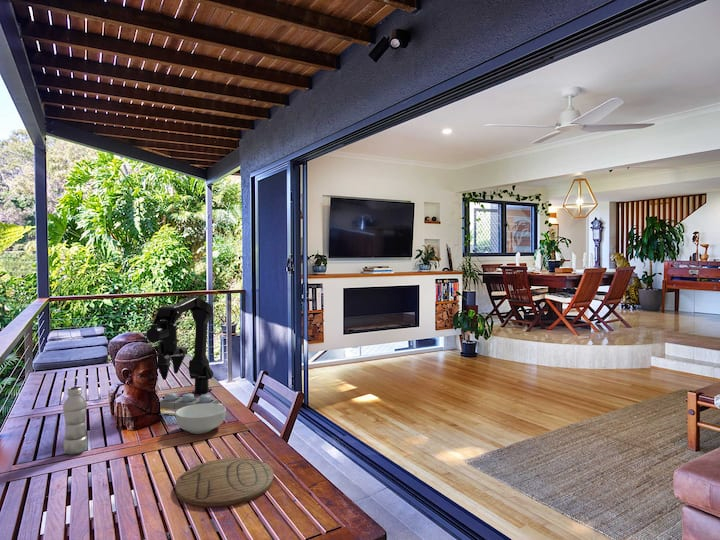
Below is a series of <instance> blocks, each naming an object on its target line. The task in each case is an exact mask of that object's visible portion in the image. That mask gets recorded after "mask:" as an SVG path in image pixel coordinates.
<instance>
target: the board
mask: <svg viewBox="0 0 720 540" xmlns="http://www.w3.org/2000/svg"><path fill="white" fill-rule="evenodd" d="M158 401H159V402H160V408H161V409H160V411H161V414H160V415H164V414H169V415H168V416H175V413H176V411H177V410H178V409H180V408H183V407H186V406H190V405H195V404H201V403H199V397H194V401H193V402H191V403H184V402H182V396H177V400H176V401H174V402H167V401H165V397H164V398H162V399H161V400H158ZM210 403H214V404H220V405H223V406H224V403H219V399H218V398H211V402H210Z"/></svg>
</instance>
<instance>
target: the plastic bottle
mask: <svg viewBox="0 0 720 540" xmlns="http://www.w3.org/2000/svg"><path fill="white" fill-rule="evenodd" d="M82 393H83V392H82V386H72V387H68V389H67V396H68V397H67V398H66V399H65V401H64V403H63V405H62V411H63V417H64V424H65V428H64V429H65V430H64V440H63V445H62V448H63V451H64V453H65V454H66V455H78V454H81V453H83V452H85V451H86V449H87V448H88V444H89V442H88V438H87V437H88V436H87V433H86V432H87V431H86V413H87V407H88V404H87V400H86V398H85V397H83V395H82Z"/></svg>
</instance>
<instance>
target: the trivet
mask: <svg viewBox="0 0 720 540" xmlns="http://www.w3.org/2000/svg"><path fill="white" fill-rule="evenodd" d="M274 477H275V476H274V470H273V468H272V466H271V465H269V464H268V463H266V462H264V461H263V460H259V459H255V458H249V457H229V458H226V457H225V458H219V459H214V460H209V461H206V462H204V463H201V464H197V465H196V466H194V467H192V468H191V467H190V469H188V470H187V471H185V472H184V473H182V474H181V475H179V477H178V478H177V480H176V483H175V486H174V487H175V488H174V490H175V496H176V498H177V499H178V501H180V502H182V504H185V505H188V506H191V507H195V508H201V509H221V508H229V507H235V506H237V505H242V504H245V503H248V502H250V501H253V500H255V499H256V498H259V497H260V496H262V495H264V494H265V493H266V492H267V491H268V490H269V489H270V488H271V487H272V486H273V482H274V480H275V479H274Z"/></svg>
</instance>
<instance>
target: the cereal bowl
mask: <svg viewBox="0 0 720 540" xmlns="http://www.w3.org/2000/svg"><path fill="white" fill-rule="evenodd" d="M220 404H221V403H218V404H214V403H203V404H195V405H190V406H186V407H183V408H180V409H178V410H177V411H176V413H175V415H174V416H175V422H176V424H177V426H178V427H179V428H180V429H182V430H184V431H186V432H189V433H190V434H195V435H197V434H198V435H199V434H205V433H208V432H211V431H212V430H213V429H216V428H218V427H219V426H221V424H223V423H224V421H225V418H226V413H227V409H226V406H225V405H224V404H223V405H220Z"/></svg>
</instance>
